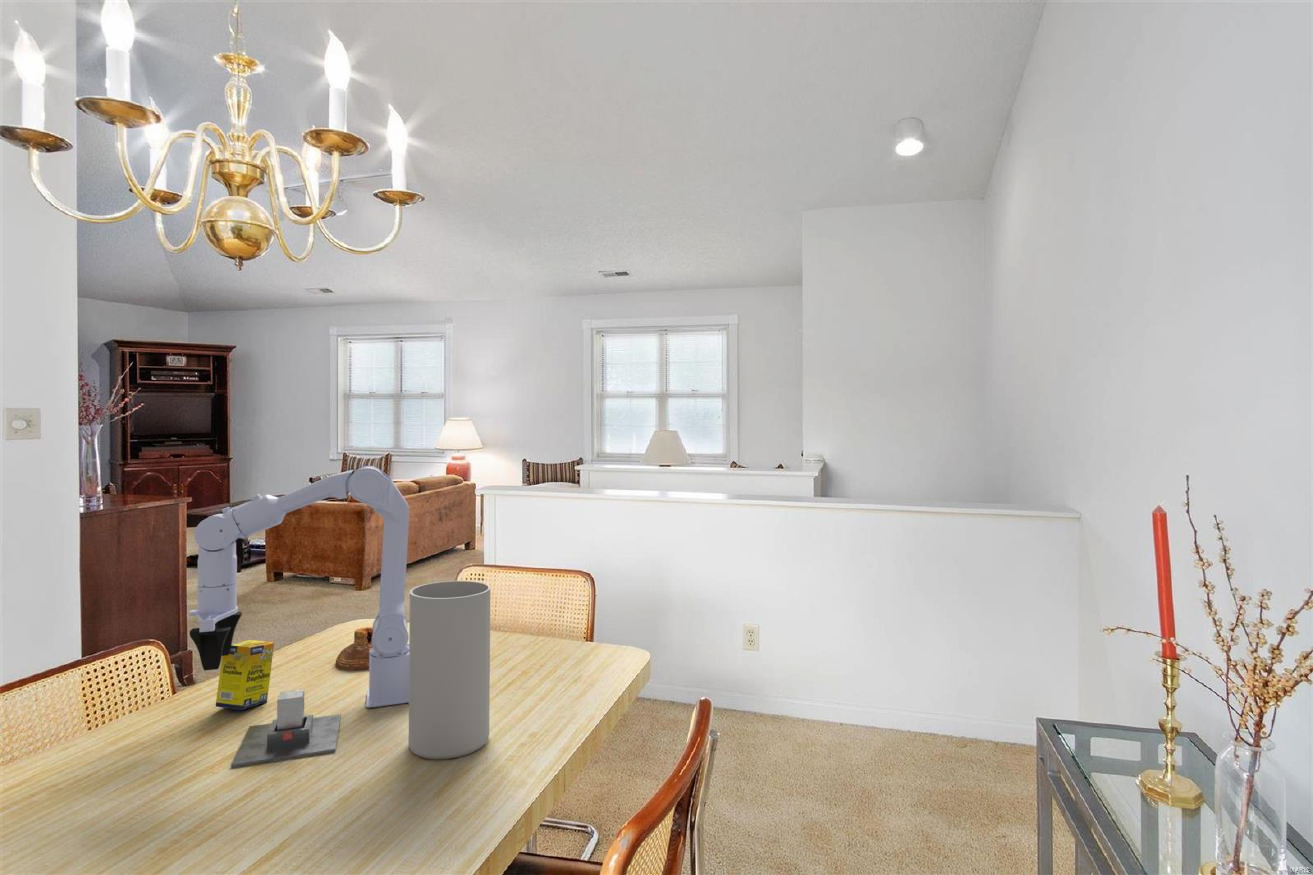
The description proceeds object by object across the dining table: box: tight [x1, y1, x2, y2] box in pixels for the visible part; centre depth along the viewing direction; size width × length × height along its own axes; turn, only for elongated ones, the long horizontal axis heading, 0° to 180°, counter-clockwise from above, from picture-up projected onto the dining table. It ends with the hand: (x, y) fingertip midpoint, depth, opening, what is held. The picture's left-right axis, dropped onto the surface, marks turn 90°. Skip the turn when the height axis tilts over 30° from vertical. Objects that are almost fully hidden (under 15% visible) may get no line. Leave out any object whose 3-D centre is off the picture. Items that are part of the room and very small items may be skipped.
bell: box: [335, 626, 373, 671], centre depth 147 cm, size 12×12×7 cm
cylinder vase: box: [408, 580, 492, 760], centre depth 109 cm, size 12×12×25 cm
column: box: [276, 688, 305, 731], centre depth 109 cm, size 4×4×7 cm
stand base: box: [231, 713, 342, 768], centre depth 109 cm, size 14×14×3 cm
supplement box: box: [215, 639, 275, 711], centre depth 123 cm, size 6×6×11 cm
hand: (216, 662), depth 116 cm, fingers open, 7 cm apart
